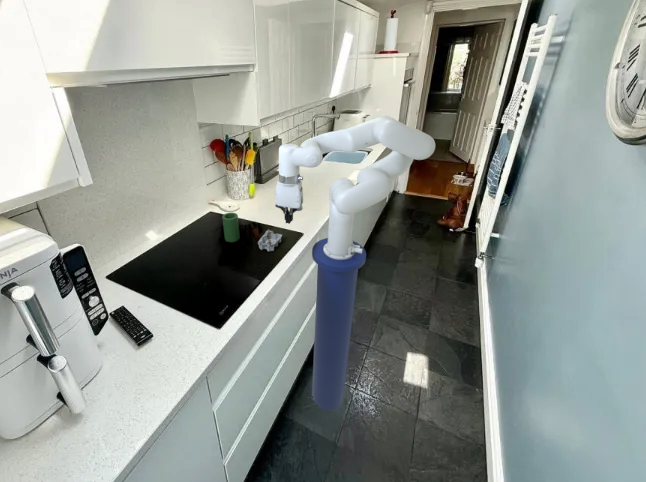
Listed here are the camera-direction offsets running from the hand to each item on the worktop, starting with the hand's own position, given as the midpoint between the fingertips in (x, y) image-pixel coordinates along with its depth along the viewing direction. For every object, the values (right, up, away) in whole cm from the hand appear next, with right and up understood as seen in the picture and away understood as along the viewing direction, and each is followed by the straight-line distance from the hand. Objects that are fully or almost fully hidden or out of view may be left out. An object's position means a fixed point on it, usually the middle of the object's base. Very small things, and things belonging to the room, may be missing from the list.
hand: (288, 221), depth 121 cm
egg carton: (-7, -10, +8) cm, 14 cm away
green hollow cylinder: (-24, -8, +13) cm, 28 cm away
